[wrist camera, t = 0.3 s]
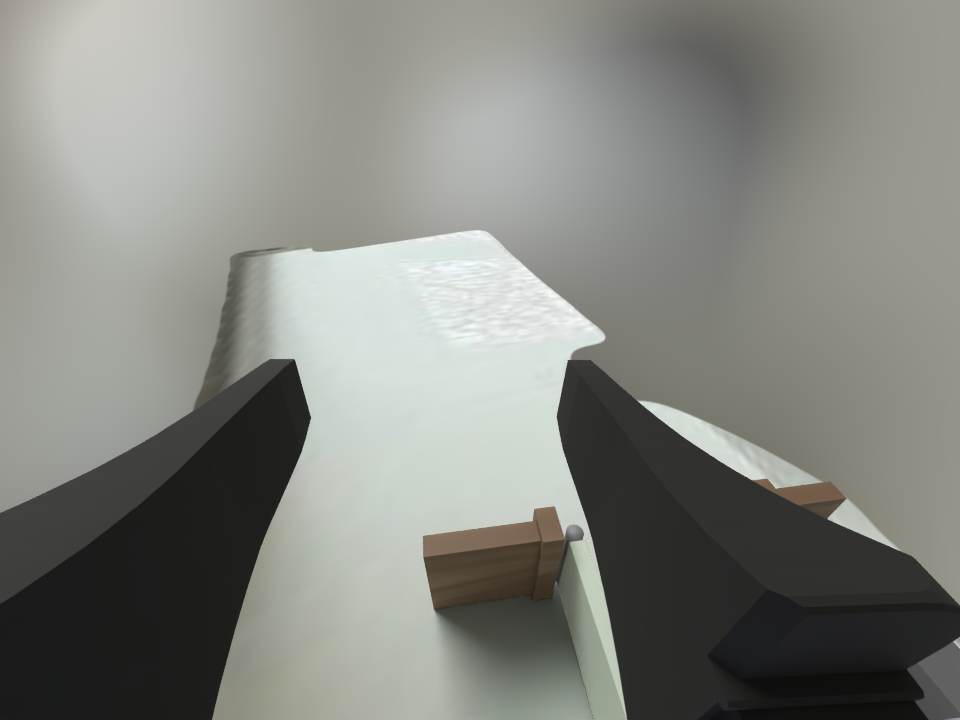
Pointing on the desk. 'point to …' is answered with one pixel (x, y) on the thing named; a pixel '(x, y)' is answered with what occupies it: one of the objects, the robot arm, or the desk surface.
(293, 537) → the desk surface
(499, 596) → the door frame
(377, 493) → the desk surface
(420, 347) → the desk surface
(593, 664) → the door
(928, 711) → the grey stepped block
